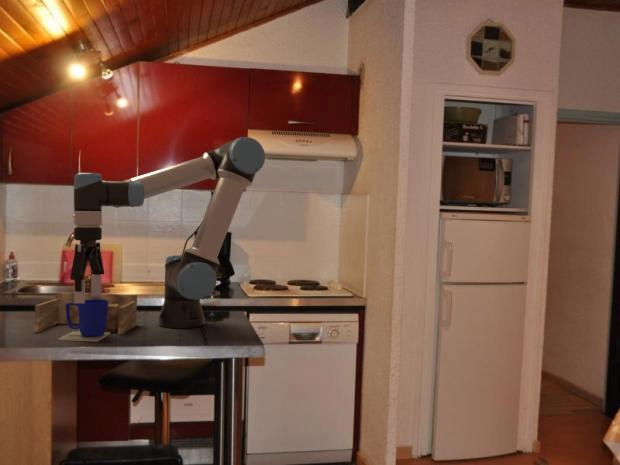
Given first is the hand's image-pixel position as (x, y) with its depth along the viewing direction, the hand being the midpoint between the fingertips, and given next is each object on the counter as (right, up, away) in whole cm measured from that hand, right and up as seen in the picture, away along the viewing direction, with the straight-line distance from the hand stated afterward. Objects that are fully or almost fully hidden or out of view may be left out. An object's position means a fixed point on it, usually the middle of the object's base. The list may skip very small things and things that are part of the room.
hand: (88, 299), depth 170 cm
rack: (-5, -11, +13) cm, 18 cm away
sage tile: (-1, -11, 0) cm, 11 cm away
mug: (-1, -11, 0) cm, 11 cm away
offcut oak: (+2, -7, +12) cm, 14 cm away
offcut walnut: (+2, -11, +12) cm, 17 cm away
